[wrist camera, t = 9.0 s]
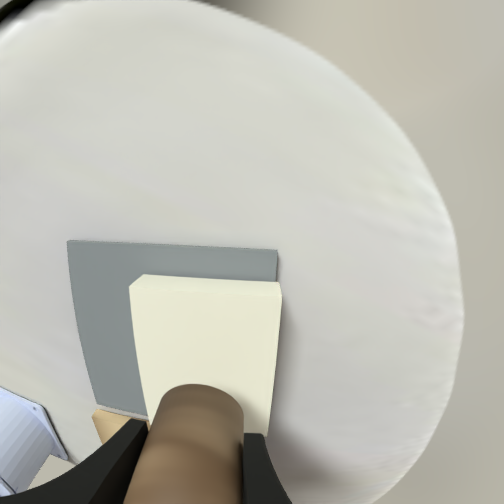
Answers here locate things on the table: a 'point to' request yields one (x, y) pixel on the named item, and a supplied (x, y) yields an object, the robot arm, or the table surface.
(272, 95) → the table surface
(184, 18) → the table surface
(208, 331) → the tile
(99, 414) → the board
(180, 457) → the dowel
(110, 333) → the mat
